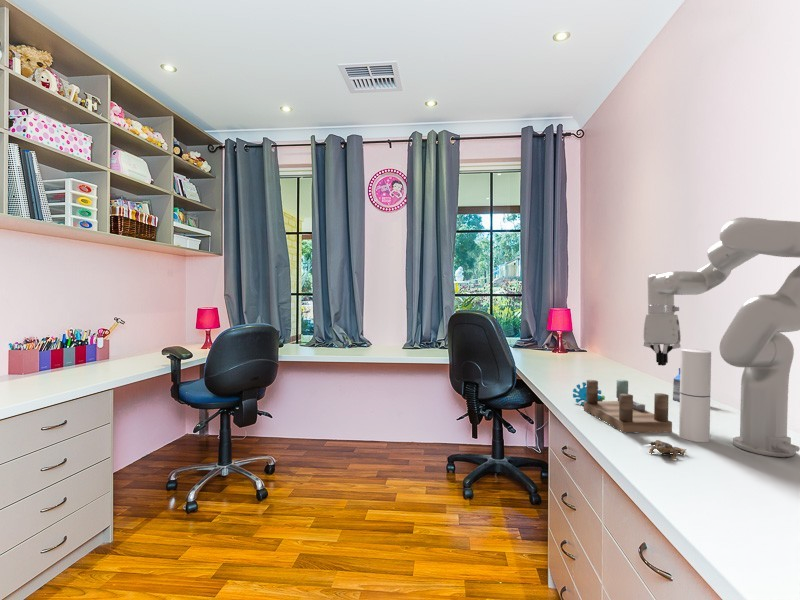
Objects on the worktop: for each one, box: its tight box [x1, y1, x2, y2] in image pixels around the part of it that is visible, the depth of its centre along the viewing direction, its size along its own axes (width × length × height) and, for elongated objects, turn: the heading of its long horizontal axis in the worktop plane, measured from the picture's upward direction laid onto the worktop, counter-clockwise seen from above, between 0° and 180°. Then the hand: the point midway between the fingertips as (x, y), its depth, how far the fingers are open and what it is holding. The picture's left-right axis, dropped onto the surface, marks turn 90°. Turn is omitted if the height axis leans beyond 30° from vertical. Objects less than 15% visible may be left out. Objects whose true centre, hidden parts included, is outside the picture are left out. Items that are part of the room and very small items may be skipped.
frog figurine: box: [648, 439, 687, 460], centre depth 110 cm, size 12×12×4 cm
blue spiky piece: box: [572, 381, 606, 406], centre depth 158 cm, size 11×6×10 cm
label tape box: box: [672, 367, 680, 402], centre depth 160 cm, size 9×4×12 cm, turn 28°
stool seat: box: [583, 379, 673, 433], centre depth 137 cm, size 24×15×11 cm, turn 3°
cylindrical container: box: [678, 348, 712, 443], centre depth 121 cm, size 7×7×25 cm
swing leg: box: [615, 379, 646, 411], centre depth 143 cm, size 13×4×8 cm, turn 4°
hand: (662, 364), depth 142 cm, fingers closed
